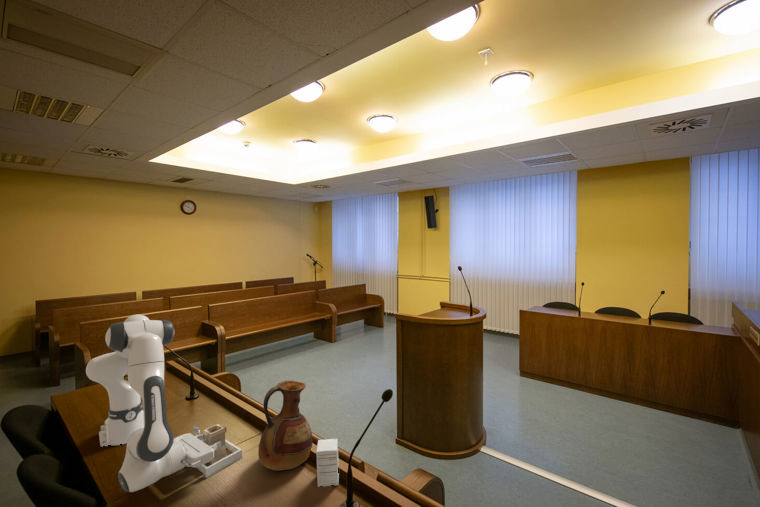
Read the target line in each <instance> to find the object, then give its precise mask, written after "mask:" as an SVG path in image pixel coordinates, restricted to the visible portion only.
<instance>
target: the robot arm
mask: <svg viewBox="0 0 760 507" xmlns="http://www.w3.org/2000/svg"><path fill="white" fill-rule="evenodd" d="M104 337H105V338H104V339H105V343H106V346H107V348H108V349H110V350H111V351H113V352H107V353H105V354H104V353H103V354H102V355H98V356H96V357H94V358H91V359H90V360H89V361H88V363H87V365H86V368H85V374H86V377H87V378H88V379H89V380H91V381H92V382H96V383H98V384H100V385H101V386H102V387H103V388H105V390H106V391H107V394H108V400H109V409H108V412H107V413H108V414H107V415H108V417H107V418H106V420H105V421H104V424H102V425H100V431H98V437H99V445H100V447H102V448H104V447H103V446H105V447H109V446H108V445H111V446H121V445H120V444H122V445H125V446H126V447H125V448H126V450H125V455H124V460H123V462H122V465H121V468H120V469H119V471H118V475H117V477H118V478H117V479H118V483H119V485H120V487H121V488H122V489H123V490H124V491H125V492H127V493H134V492H138V491H139V490H143V489H144V488H147V487H149V486H151V485H152V484H154V483H157V482H158V481H159V480H161V479H162V478H164V477H168V476H170V475H173V474H174V473H177V472H178V471H180V470H182V469H184V468H185V467H187V468H190V467H191V468H196V467H198V466H201V465H203V464H204V465H206V464H207V463H208V462H209V461H211V460H213V458H214V451H215V450H216V449H217V448H218V447H220V446H221V442H220V441H216V442H215V444H214V445H213V446H212V445H211V446H208V445H207V444H205V443H204V442H202V441H201V440H203V439H204V433H202V434H200V435H196V436H194V434H192V433H190V432H188V433H184V434H181V435H179V436H177V437H174V434H173V431H172V428H171V427H170V424H169V422H168V414H167V402H166V401H167V400H166V388H165V353H164V352H165V351H164V347H165V346H167V345H170V343H171V342H172V341H173V339H174V337H175V328H174V324H173V322H172V321H170V320H167V319H166V320H165V319H160V320H158V319H157V320H156V319H149V317H148V316H146V315H144V314H140V313H139V314H133V315H129V316H128V317H127V318H126V319H125V320H124V321H119V322H115V323H112V324H111V325H110V326H109V327H108V329H107V331H106V333H105V335H104ZM126 375H127V379H128V380H126V379H125V377H124V376H126Z"/></svg>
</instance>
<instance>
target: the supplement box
mask: <svg viewBox="0 0 760 507" xmlns="http://www.w3.org/2000/svg"><path fill="white" fill-rule="evenodd" d="M315 453H316V475H317V476H316V478H317V479H316V480H317V482H316V483H317V487H318V488H319V487H320V486H323V487H332V486H331V485H334V486H339V482H340V481H339V479H340V472H339V473H338V466H340V465H339V441H338V438H328V439H317V445H316V452H315ZM320 488H321V487H320Z"/></svg>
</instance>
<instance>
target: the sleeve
mask: <svg viewBox="0 0 760 507" xmlns="http://www.w3.org/2000/svg"><path fill="white" fill-rule="evenodd" d="M227 430H228V429H227V426H225V425H221V424H219V423H216V424H214V425H212V426H209V427H207V428H205V429H203V430H202V431H203V432H202V434H204V443H205V444H207V445H208V446H211V445H212V446H213V445H214V444H215V442H216V441H220V442H221V446H220V447H218V448H217V449H216V450H215V451H214V458H213V460H211V461H209V462H207V463H208V464H210V465H212V464H214V463H216V462H217V461H219V460H221V459H223V458H225V457H227V453H226V452H227V450H226V449H227V448H226V445H225V439H226V433H227Z"/></svg>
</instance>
